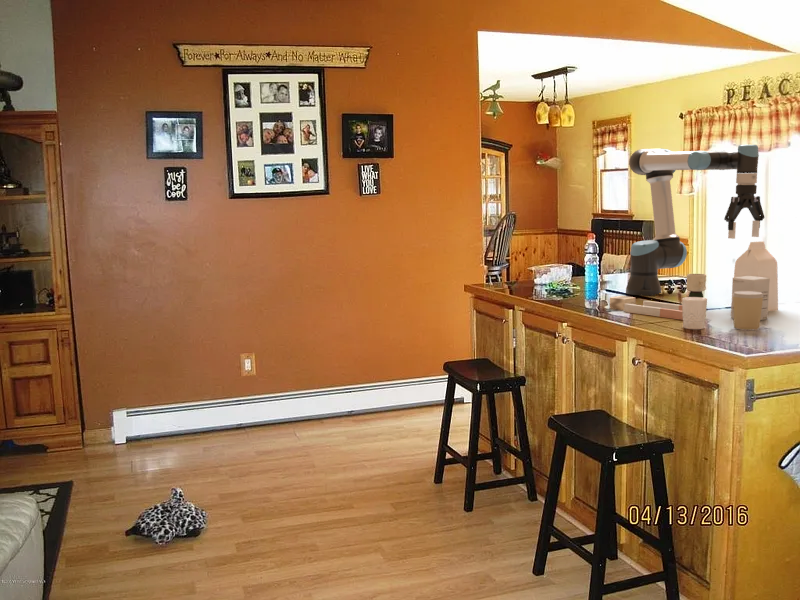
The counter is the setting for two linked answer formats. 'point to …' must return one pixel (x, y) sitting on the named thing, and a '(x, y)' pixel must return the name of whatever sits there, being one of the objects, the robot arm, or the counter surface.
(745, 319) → the coffee cup
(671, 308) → the channel
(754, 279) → the supplement box
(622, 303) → the maple block
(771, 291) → the milk
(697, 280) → the character mug
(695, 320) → the white cup
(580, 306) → the counter surface
